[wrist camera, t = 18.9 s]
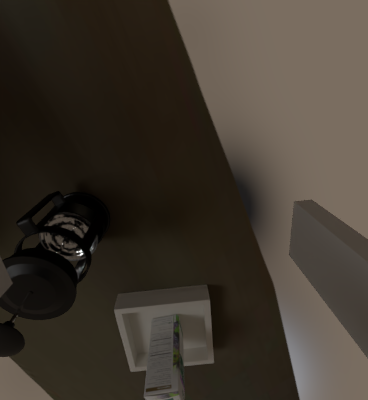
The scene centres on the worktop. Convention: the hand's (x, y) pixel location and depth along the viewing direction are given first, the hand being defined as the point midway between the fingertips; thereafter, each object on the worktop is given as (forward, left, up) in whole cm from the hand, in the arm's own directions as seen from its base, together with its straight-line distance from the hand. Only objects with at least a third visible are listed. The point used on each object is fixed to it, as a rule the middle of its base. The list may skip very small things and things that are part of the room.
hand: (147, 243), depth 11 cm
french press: (-16, -11, -29) cm, 35 cm away
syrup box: (-4, -38, -28) cm, 47 cm away
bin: (-4, -38, -29) cm, 48 cm away
